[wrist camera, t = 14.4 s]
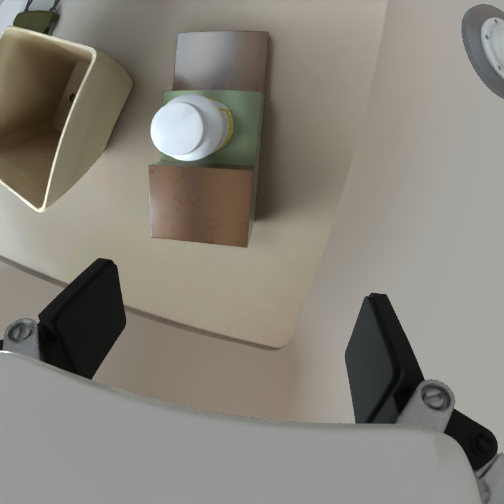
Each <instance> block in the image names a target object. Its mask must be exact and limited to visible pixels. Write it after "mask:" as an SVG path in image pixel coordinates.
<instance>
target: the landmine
mask: <svg viewBox="0 0 504 504" xmlns="http://www.w3.org/2000/svg"><path fill="white" fill-rule="evenodd" d="M32 1H33V0H31V1H30V0H28V3H27V5H26V8H25V9H24V11H25V12H22V13H19V14H18V15H17V16H16V18H15V20H14V22H13V26H15V27H19V28H23V29H27V30H31V31H35V32H39V33H43V34H47V35H50V34H51V32H52V29H53V27H54V25H55V24H56V21H57V19H58V17H59V16H58V13H56V12H53V11H52V10H55V9H56V6H57V4H58V3H59V1H60V0H58V1H57V0H55V3H54V6H53V7H52V8H50V10H49V11H41V10H37V11H28V10H29V9H28V7H29V6H30V4H31V2H32ZM29 2H30V3H29Z"/></svg>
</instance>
